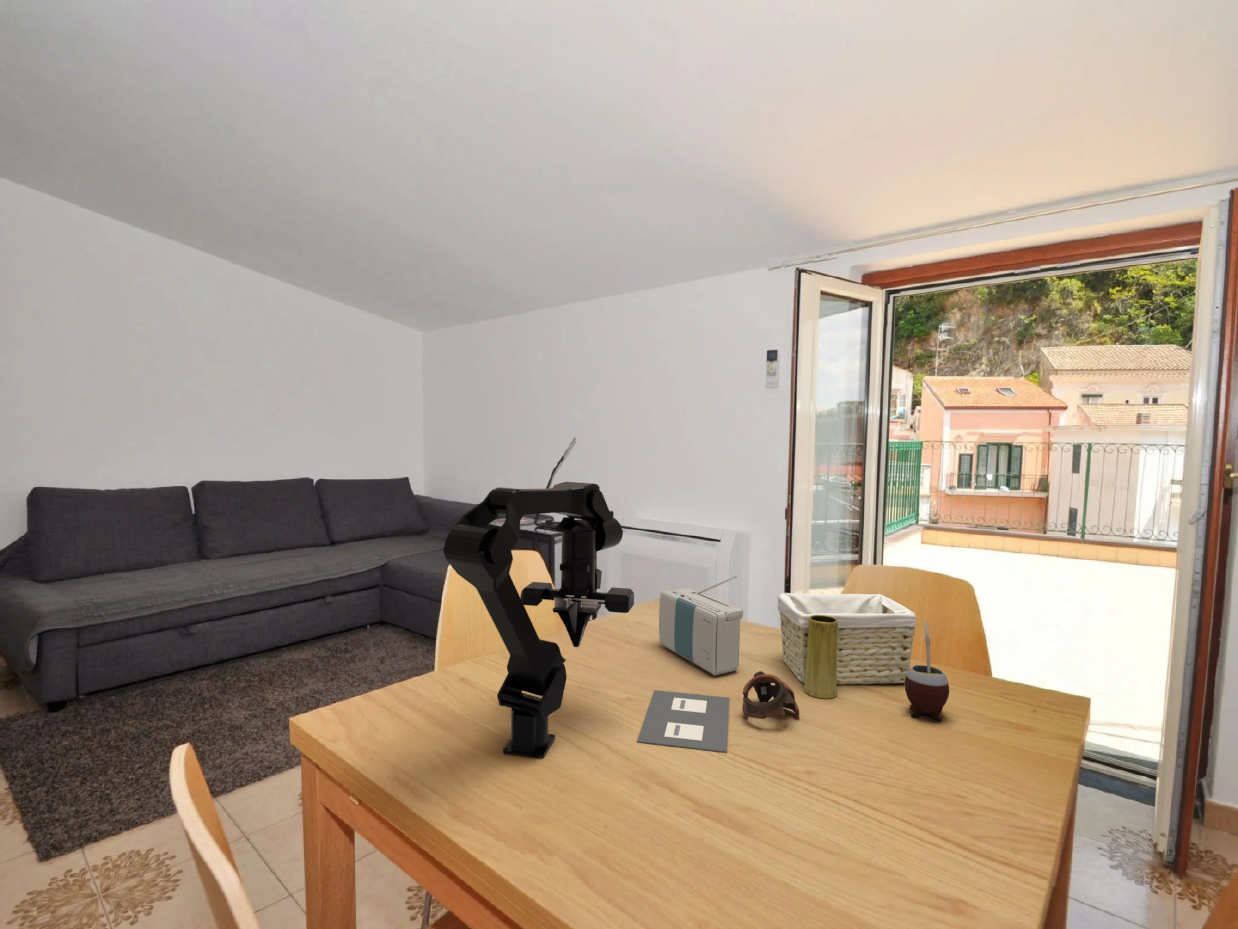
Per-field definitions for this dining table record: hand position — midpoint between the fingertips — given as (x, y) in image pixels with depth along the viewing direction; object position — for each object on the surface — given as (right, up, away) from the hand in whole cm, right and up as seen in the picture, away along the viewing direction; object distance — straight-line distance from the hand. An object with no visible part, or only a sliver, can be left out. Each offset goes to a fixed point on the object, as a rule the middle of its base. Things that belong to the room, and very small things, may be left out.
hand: (576, 646), depth 107 cm
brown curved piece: (+33, -13, +2) cm, 36 cm away
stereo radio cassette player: (+24, -11, +28) cm, 39 cm away
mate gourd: (+61, -13, +4) cm, 63 cm away
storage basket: (+53, -12, +23) cm, 59 cm away
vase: (+46, -13, +12) cm, 49 cm away
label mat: (+19, -12, 0) cm, 23 cm away
